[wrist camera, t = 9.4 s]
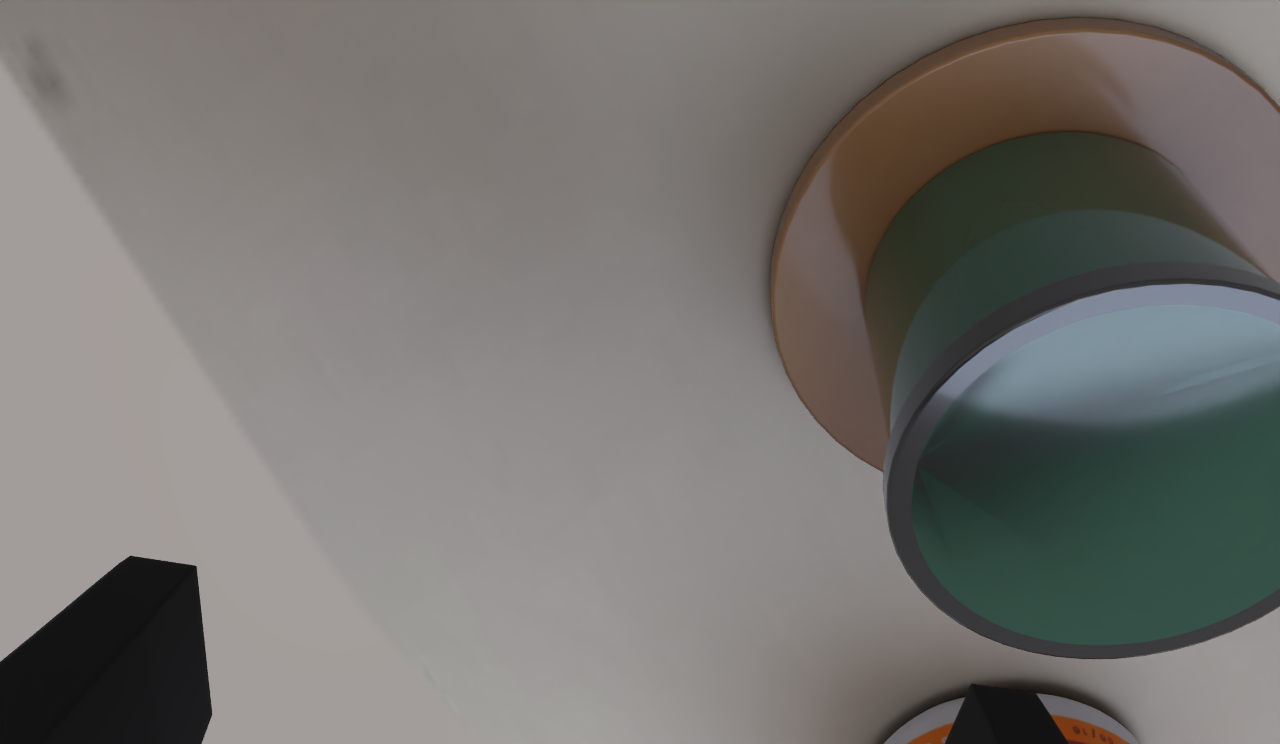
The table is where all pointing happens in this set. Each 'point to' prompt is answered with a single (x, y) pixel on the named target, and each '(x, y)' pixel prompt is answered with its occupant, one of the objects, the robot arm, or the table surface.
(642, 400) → the table surface
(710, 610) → the table surface
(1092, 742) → the pill bottle
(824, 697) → the table surface
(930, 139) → the coaster
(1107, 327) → the pot
